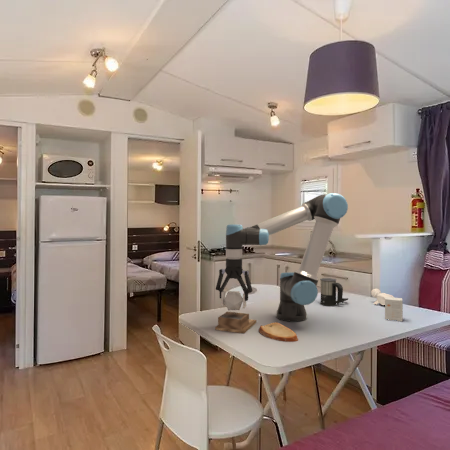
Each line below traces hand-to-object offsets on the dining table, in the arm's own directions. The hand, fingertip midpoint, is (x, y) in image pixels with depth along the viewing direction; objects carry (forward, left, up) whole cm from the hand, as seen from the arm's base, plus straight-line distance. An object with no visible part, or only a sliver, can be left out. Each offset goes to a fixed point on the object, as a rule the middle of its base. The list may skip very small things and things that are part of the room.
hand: (233, 306), depth 171 cm
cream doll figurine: (-65, -74, -10) cm, 99 cm away
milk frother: (-38, -66, -10) cm, 77 cm away
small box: (-69, -44, -10) cm, 82 cm away
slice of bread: (-21, +1, -11) cm, 24 cm away
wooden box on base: (0, -4, -10) cm, 11 cm away
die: (0, 0, -1) cm, 1 cm away
